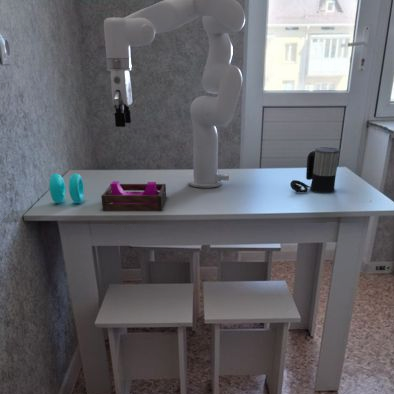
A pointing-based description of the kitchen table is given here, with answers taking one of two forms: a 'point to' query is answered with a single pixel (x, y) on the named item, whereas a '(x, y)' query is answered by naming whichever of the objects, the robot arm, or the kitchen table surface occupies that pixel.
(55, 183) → the donuts
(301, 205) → the kitchen table surface
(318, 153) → the milk frother
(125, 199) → the crate
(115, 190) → the magenta cradle bracket
